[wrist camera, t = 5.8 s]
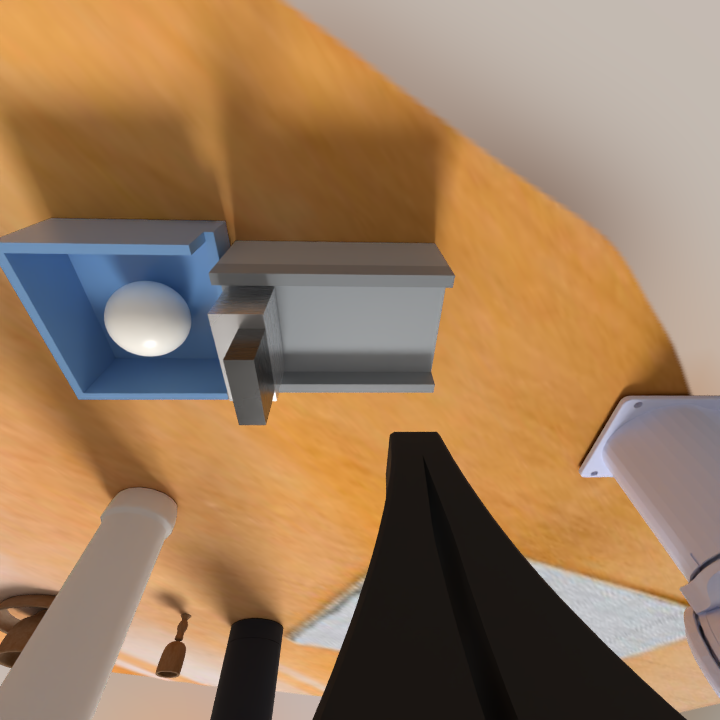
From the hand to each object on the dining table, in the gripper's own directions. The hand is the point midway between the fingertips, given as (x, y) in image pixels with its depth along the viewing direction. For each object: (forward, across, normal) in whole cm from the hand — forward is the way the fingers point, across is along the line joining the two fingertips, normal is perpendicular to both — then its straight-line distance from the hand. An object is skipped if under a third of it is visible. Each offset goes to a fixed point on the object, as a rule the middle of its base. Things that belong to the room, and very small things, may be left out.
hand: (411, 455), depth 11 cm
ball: (+8, +11, 0) cm, 14 cm away
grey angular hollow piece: (+7, +6, 0) cm, 9 cm away
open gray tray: (+10, +3, 0) cm, 11 cm away
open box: (+10, +11, 0) cm, 15 cm away
